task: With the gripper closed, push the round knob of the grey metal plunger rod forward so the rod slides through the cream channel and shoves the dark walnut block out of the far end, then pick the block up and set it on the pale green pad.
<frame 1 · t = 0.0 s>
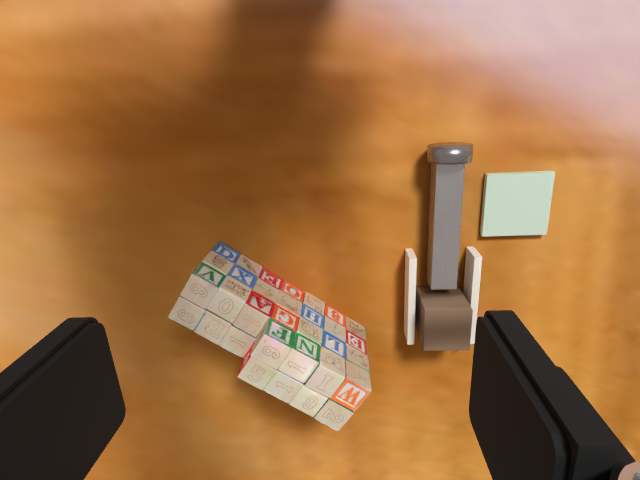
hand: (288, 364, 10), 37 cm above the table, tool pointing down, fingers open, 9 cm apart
channel: (437, 290, 49), on the table
rod: (446, 220, 44), point 2 cm above the table, slide at 0.0 cm
pad: (514, 203, 45), on the table
stack of blocks: (282, 302, 52), on the table
block: (436, 304, 50), on the table
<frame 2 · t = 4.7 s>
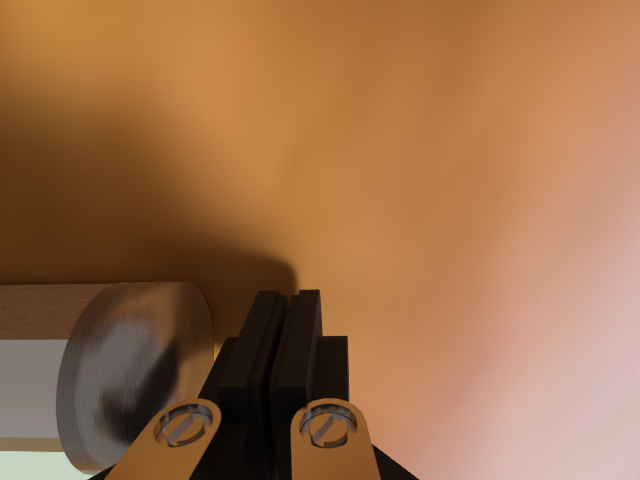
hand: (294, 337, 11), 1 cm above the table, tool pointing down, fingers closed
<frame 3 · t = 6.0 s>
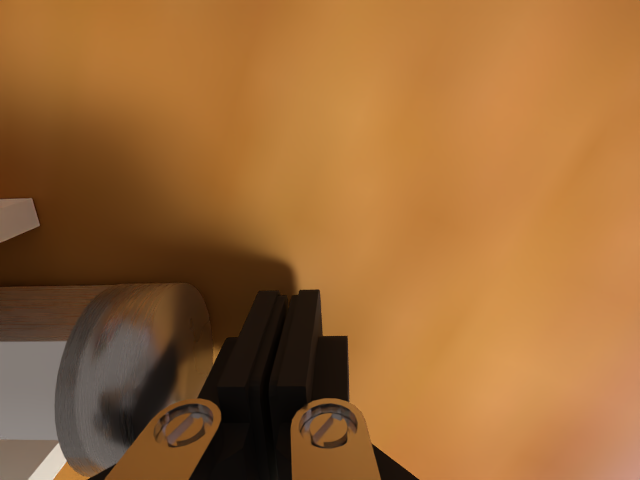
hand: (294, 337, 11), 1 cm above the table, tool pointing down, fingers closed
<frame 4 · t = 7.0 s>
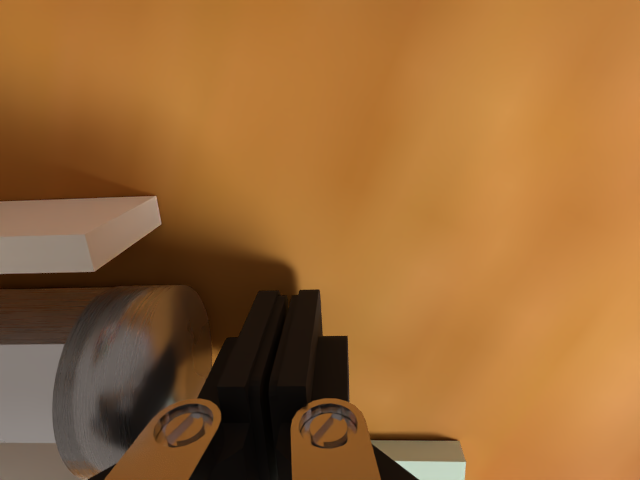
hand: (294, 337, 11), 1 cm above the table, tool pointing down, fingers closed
channel: (8, 324, 13), on the table
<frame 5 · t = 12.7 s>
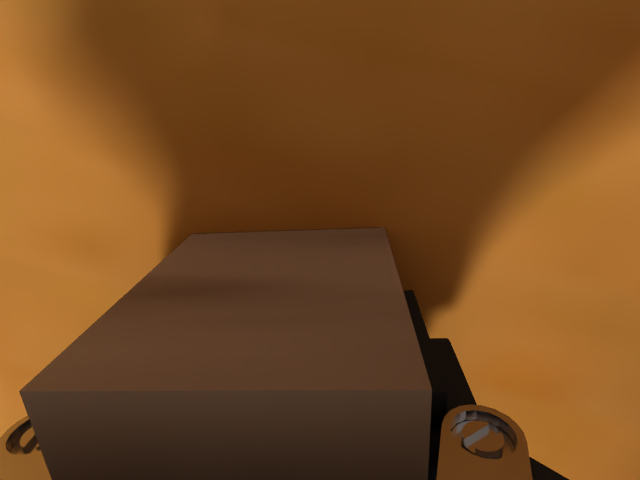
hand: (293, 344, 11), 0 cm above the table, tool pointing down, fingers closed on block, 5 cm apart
block: (293, 316, 11), on the table, touching gripper
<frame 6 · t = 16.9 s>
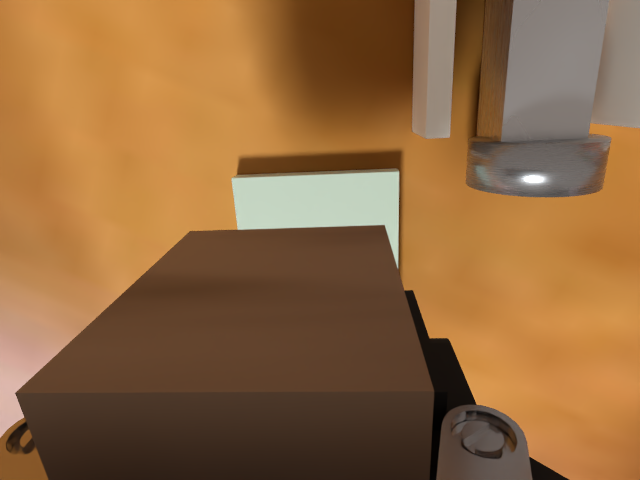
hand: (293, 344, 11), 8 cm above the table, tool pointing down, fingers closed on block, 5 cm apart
pad: (319, 247, 19), on the table
block: (293, 314, 11), point 8 cm above the table, touching gripper
when the fingers open (1 cm above the table, at t = 18.5 s): block stays where it is, resting on pad.
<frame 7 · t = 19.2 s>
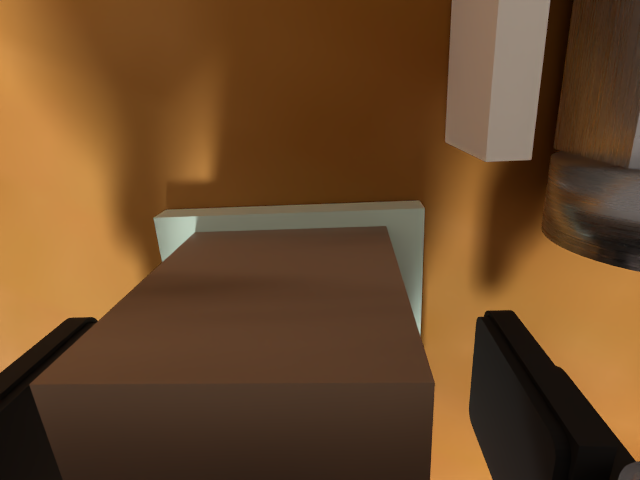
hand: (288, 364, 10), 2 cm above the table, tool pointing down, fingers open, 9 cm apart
pad: (298, 317, 12), on the table
block: (295, 314, 11), point 1 cm above the table, touching pad
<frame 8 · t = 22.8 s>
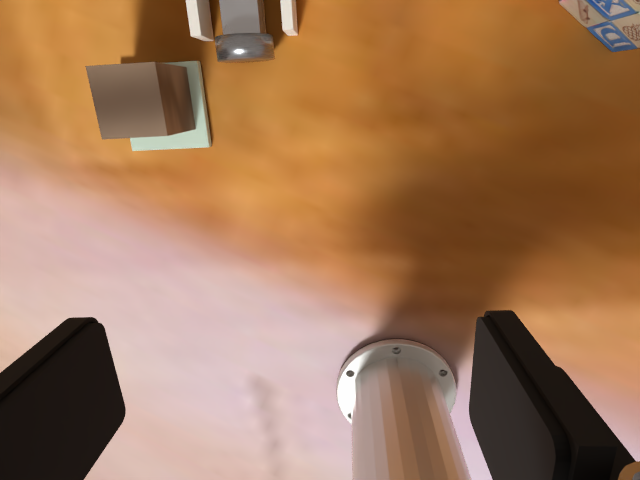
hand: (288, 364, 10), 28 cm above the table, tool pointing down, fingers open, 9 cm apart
pad: (167, 107, 36), on the table
block: (162, 100, 35), point 1 cm above the table, touching pad
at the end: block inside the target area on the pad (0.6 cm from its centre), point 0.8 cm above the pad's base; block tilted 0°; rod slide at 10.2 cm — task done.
